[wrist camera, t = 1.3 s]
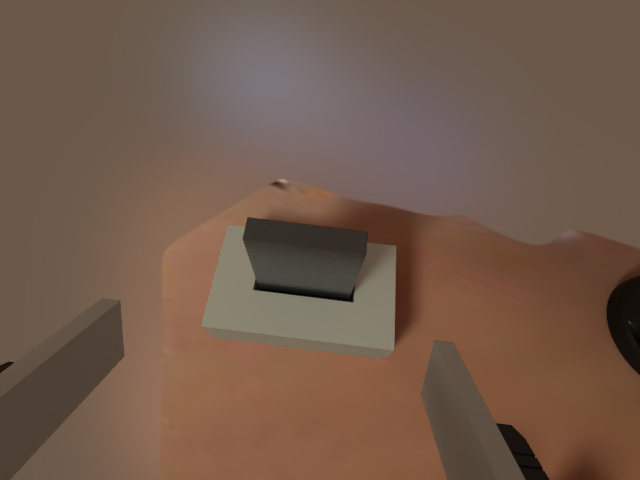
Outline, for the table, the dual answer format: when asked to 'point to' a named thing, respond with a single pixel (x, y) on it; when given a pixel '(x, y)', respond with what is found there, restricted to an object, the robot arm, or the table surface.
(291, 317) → the slotted box
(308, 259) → the cover plate
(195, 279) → the table surface
